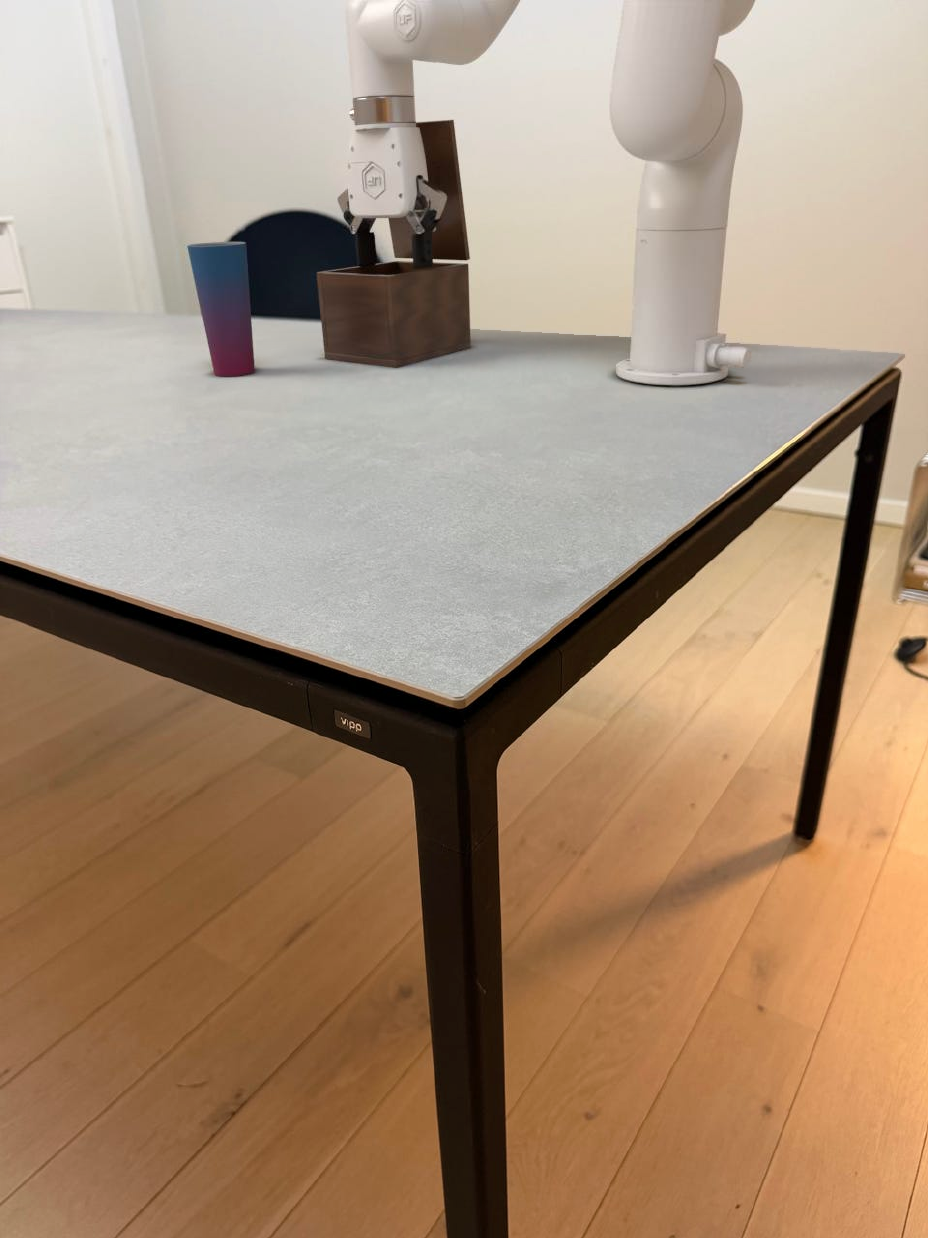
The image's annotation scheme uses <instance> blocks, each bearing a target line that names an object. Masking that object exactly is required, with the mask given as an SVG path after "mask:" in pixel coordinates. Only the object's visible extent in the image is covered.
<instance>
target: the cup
mask: <svg viewBox="0 0 928 1238" xmlns="http://www.w3.org/2000/svg"><path fill="white" fill-rule="evenodd" d="M186 246H187V251H188V256H189V261H190V267H191V270H192V275H193V281H194V285H195V289H196V294H197V299H198V303H199V308H200V313H201V318H202V323H203V327H204V332H205V336H206V341H207V347H208V350H209V356H210V359H211V360H210V361H211V365H212V370H213V374H214V375H215V376H218V377H239V376H240V377H241V376H246V375H251V374H253V373H255V371H256V366H255V356H254V355H255V352H254V351H255V350H254V339H253V323H252V310H251V309H252V308H251V295H250V282H249V281H250V280H249V266H248V254H247V251H248V250H247V242H245V241H215V242H214V241H212V242H201V243H193V244H191V243H190V244H188V245H186Z"/></svg>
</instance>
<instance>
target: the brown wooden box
mask: <svg viewBox="0 0 928 1238" xmlns="http://www.w3.org/2000/svg"><path fill="white" fill-rule="evenodd" d="M469 277H470V273H469V263H460V262H436V261H433V266H432V267H426V268H420V269H416V268H414V266H413V260H411V261H410V260H409V261H408V260H393V261H386V262H379V263H378V262H377V263H376V264H375V265H370V266H364V267H359V266H358V265H357V266H351V267H345V268H344V267H343V268H337V269H330V270H323V271H317V272H316V280H317V289H318V290H317V292H318V303H319V311H320V313H319V314H320V321H321V333H322V342H323V353H324V359H326V360H333V361H339V362H340V361H341V362H342V361H343V362H350V363H355V364H365V365H373V366H380V367H389V368H399V367H403V366H406V365H407V366H408V365H410V364H414V363H418V362H422V361H426V360H430V359H433V358H437V357H440V356H445V355H448V354H452V353H455V352H459V351H463V350H467V349H471V347H472V343H471V312H470V311H471V309H470V306H471V305H470V278H469Z"/></svg>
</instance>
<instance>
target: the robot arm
mask: <svg viewBox="0 0 928 1238" xmlns="http://www.w3.org/2000/svg"><path fill="white" fill-rule="evenodd" d="M520 2H521V0H348V1H347V3H346V6H345V22H346V23H345V24H346V36H347V48H348V49H347V50H348V61H349V74H350V75H349V76H350V87H351V99H352V108H351V109H350V110H349V117H350V119H351V120H352V121H353V125H354V130H350V131H349V136H348V137H349V140H348V147H347V148H348V149H347V188H346V189H345V190H344V191H343V192H342V193H341V194H340V195H339V196H338V197H337V203H338V205H339V208H340V210H341V213H343V219H344V221H345V222H346V223H347V225H348V226H349V231H350V233H351V235H354V240H355V241H354V243H355V253H356V255H355V256H356V265H357V266H359V267H364V266H370V265H375V264H378V258H377V246H376V234H375V231H371V230H372V229H373V226H374V224H375V222H376V220H377V219H388V218H400V217H404V216H406V218H407V219H408V221H409V222H410V224H411V225H412V227H413V229H414V230H415V232H416V234H412V252H413V259H412V262H413V266H414V268H416V269H420V268H426V267H432V266H433V262H434V259H433V247H432V233H434V232H435V231H436V226H437V224H438V223H439V221H440V220H441V218H442V211H443V209H444V206H445V203H446V200H447V196H446V194H445V193H444V192H442V191H441V190H439V189H438V188H436V187H435V186H433V185H432V184H431V183H429V182H428V174H427V166H426V158H425V152H424V146H423V142H422V137H421V133H420V129H419V128H418V127H416V122H417V119H416V99H415V80H414V79H415V77H414V61H418V62H425V63H433V64H436V63H439V64H445V65H454V66H465V65H468V64H471V63H473V62H475V61H476V60H478V59H479V58H480V57H482V55H484V54H485V53H486V52H487V51H488V50H489V49H490V47H491V46H492V44H493V43H494V42H495V41H496V39H497V38H498V36H499V35H500V33H501V32H502V30H503V29H504V28H505V26H506V24H507V23H508V21H509V20H510V18H511V16H512V15H513V14H514V12H515V11H516V9H517V7H518V6H519V4H520ZM755 2H756V0H623V4H622V10H621V17H620V22H619V23H620V24H619V30H618V36H617V43H616V50H615V55H614V63H613V68H612V69H613V70H612V76H611V83H610V92H609V119H610V124H611V128H612V131H613V134H614V136H615V139H616V140H617V141H618V143H619V144H620V146H621V147H622V148H623V149H624V150H625V151H626V152H627V153H628V154H630V155H631V156H633V157H634V158H637V159H639V160H643V161H644V165H643V170H642V171H643V172H642V175H641V176H642V177H641V181H640V185H639V191H638V201H637V212H636V213H637V215H636V230H635V247H634V248H635V249H634V250H635V251H634V266H633V267H634V269H633V270H634V271H633V291H632V309H631V311H632V313H631V314H632V315H631V331H630V333H631V334H630V336H631V337H630V351H629V352H630V353H629V355H630V356H629V357H628V358H625V359H623V360H620V361H619V362H617V363H616V366H615V375H617V376H618V378H620V379H623V380H626V381H629V382H633V383H639V384H647V385H658V386H690V385H701V384H703V385H704V384H709V383H713V382H717V381H721V380H723V379H725V378H727V376H728V375H729V368H730V367H735V368H736V367H737V368H747V367H748V366H749V364H750V361H751V349H749V348H748V347H747V346H729V344H728V343H726V339H727V338H726V337H727V333H723V332H719V331H718V329H719V320H720V319H719V318H720V309H721V297H722V285H723V284H722V283H723V275H724V274H723V273H724V263H725V253H726V252H725V251H726V239H727V230H728V229H727V228H728V224H729V223H728V222H729V210H730V201H731V191H732V184H733V183H732V182H733V177H734V169H735V164H736V159H737V153H738V148H739V143H740V138H741V134H742V133H741V132H742V127H743V126H742V125H743V114H744V106H743V105H744V104H743V96H742V91H741V87H740V84H739V82H738V80H737V78H736V77H735V74H734V73H733V71H732V70H731V69H730V68H729V67H728V66H727V65H726V64H725V63H724V62H723V61H721V60H719V59H718V58H716V53H717V49H718V44H719V39H720V37H722V36H726V35H727V34H729V33H731V32H732V31H734V30H735V29H737V28H738V27H739V26H740V25H742V23H744V21H745V20H746V19H747V17H748V16H749V14H750V12H751V11H752V9H753V7H754V5H755ZM429 200H430V201H431V204H430V210H429V211H428V208H429ZM427 211H428V212H427Z"/></svg>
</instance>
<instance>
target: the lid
mask: <svg viewBox="0 0 928 1238" xmlns="http://www.w3.org/2000/svg"><path fill="white" fill-rule="evenodd" d="M416 127H418V128H419V129H420V133H421V137H422V142H423V146H424V152H425V158H426V166H427V174H428V182H429V183H431V184H432V185H433V186H435V187H436V188H438V189H439V190H441V191H442V192H444V193H445V194H446V196H447V200H446V203H445V206H444V209H443V211H442V218H441V220H440V221H439V223H438V224H437V226H436V231H435V232H434V233H432V247H433V260H438V261H440V260H441V261H464V262H465V261H470V260H471V255H470V248H469V247H470V246H469V238H468V231H467V221H466V213H465V212H466V211H465V204H464V196H463V188H462V178H461V170H460V162H459V154H458V145H457V138H456V137H457V136H456V129H455V127H456V126H455V120H454V119H445V120H443V119H442V120H441V119H440V120H428V121H416ZM430 204H431V201H430V200H429V208H428V211H429V210H430ZM428 211H427V212H428ZM387 219H388V225H389V232H390V238H391V244H392V249H393V257H394V259H409V260H410V259H412V260H413V252H412V234H416V232H415V230H414V229H413V227H412V225H411V224H410V222H409V221H408V219H407V218H406V216H404V217H400V218H387Z"/></svg>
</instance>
